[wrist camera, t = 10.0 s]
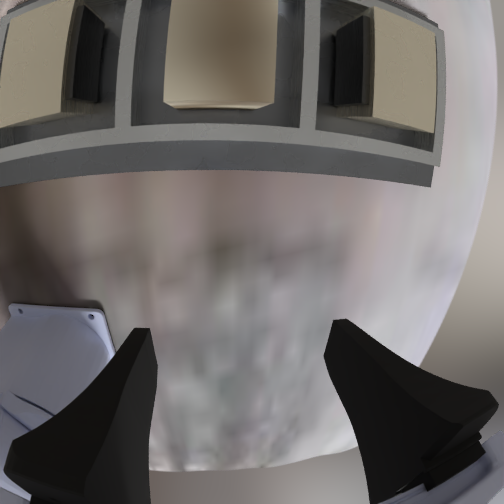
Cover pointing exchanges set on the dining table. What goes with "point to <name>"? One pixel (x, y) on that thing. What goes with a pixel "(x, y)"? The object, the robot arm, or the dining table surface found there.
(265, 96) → the birch block
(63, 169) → the rail
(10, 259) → the dining table surface
